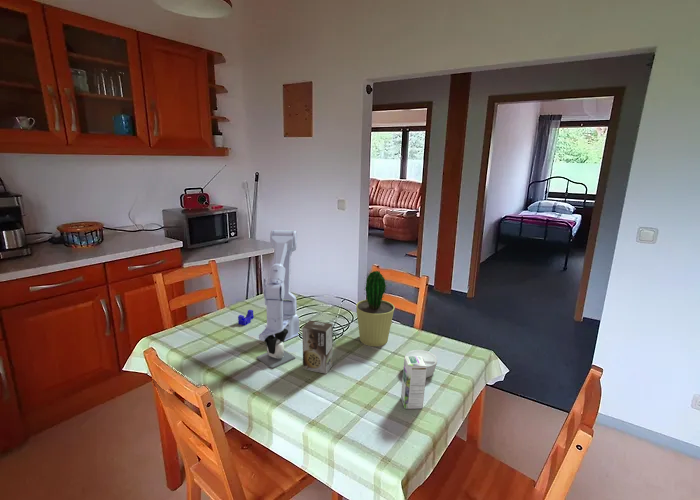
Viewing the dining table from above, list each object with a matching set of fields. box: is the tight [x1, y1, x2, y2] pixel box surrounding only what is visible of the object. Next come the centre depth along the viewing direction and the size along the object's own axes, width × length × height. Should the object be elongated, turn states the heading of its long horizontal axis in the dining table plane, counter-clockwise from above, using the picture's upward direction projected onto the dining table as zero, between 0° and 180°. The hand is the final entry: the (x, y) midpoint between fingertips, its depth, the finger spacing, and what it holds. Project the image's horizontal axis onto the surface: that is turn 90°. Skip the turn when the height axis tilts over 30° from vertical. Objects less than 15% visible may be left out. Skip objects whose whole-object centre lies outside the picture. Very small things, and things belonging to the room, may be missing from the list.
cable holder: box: [237, 309, 254, 326], centre depth 166 cm, size 8×4×4 cm, turn 157°
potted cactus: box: [355, 270, 396, 347], centre depth 149 cm, size 15×15×30 cm
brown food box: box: [301, 320, 334, 375], centre depth 130 cm, size 9×6×16 cm
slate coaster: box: [256, 350, 296, 370], centre depth 137 cm, size 10×10×1 cm
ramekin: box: [404, 349, 438, 379], centre depth 131 cm, size 11×11×5 cm
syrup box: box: [400, 356, 427, 410], centre depth 112 cm, size 6×6×14 cm
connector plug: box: [266, 339, 285, 359], centre depth 136 cm, size 4×7×6 cm, turn 60°
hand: (275, 350), depth 136 cm, fingers closed on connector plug, 3 cm apart
